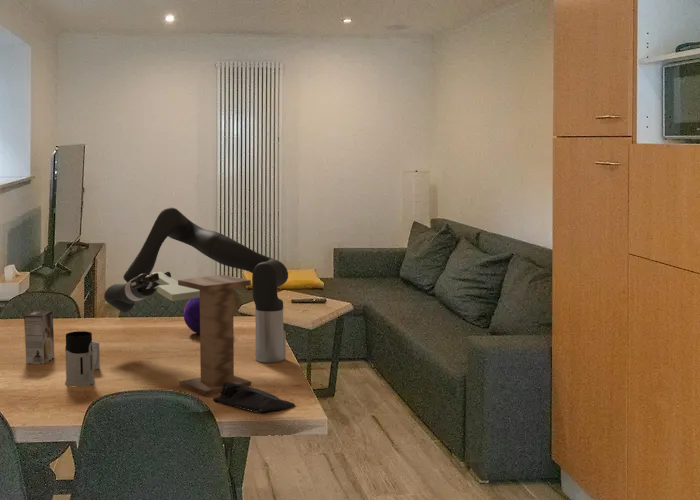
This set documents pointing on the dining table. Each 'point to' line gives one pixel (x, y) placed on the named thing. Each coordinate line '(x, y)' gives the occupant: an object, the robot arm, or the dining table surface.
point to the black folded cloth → (251, 398)
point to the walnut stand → (215, 333)
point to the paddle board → (174, 289)
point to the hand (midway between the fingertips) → (163, 275)
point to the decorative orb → (193, 314)
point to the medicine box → (95, 355)
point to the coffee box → (39, 337)
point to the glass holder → (80, 359)
